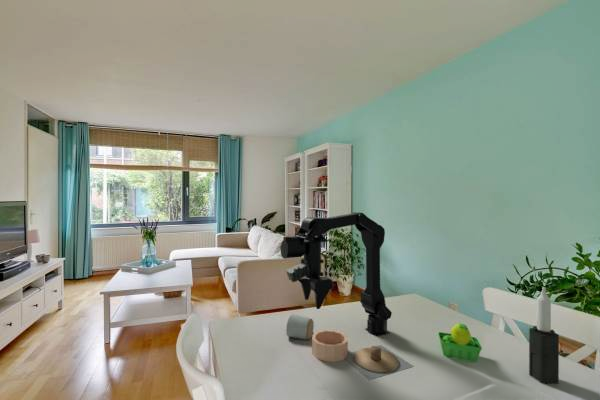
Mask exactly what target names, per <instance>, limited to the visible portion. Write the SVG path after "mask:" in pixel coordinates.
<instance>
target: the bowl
mask: <svg viewBox="0 0 600 400" xmlns="http://www.w3.org/2000/svg"><path fill="white" fill-rule="evenodd" d="M348 353H349V339H348V336H347V335H346V334H345V333H343V332H342V331H337V330H334V329H333V330H332V329H324V330H318V331H316V332H314V333H312V336H311V355H313V356H314V357H315V358H316V359H318V360H321V361H324V362H334V363H336V362H340V361H344V360H345V359H344V358H345V357H346V356H347V355H348Z"/></svg>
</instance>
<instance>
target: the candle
mask: <svg viewBox="0 0 600 400" xmlns="http://www.w3.org/2000/svg"><path fill="white" fill-rule="evenodd" d="M541 289H542V290H541V292H540V294H539V295H538V297H537V298H536V325H534V326H533V327H530V328H529V329H528V331H529V333H528V334H529V335H528V336H529V337H528V340H529V341H528V342H529V343H528V348H529V349H528V351H529V352H528V369H529V370H528V375H529V376H530V377H532V378H534V379H535V380H536V381H538V382H539V383H541V384H542V385H558V384H559V381H560V380H559V374H560V373H559V370H560V368H559V366H560V363H559V362H560V361H559V360H560V359H559V355H560V353H559V349H560V343H559V342H560V337H559V334H558V333H556V332H555V330H554V329H552V328H551V327H552V326H551V324H552V315H551V314H552V301H551V298H549V296H548V293H547V288H546V287H545V286H542V288H541Z"/></svg>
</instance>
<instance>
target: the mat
mask: <svg viewBox="0 0 600 400" xmlns="http://www.w3.org/2000/svg"><path fill="white" fill-rule="evenodd" d="M377 346H378V347H380V348H381V349H382V350H385V351H388V352H390V353H392V354H393V355H395V356H396V357H397V359H398V361H399V366H398V368H397V369H396V370H394V371H392V372H388V373H376V372H371V371H368V370H365V369H363V368H361V367H360V366H358V365H357V364H356V363H355V361H354V354H355V352H356V351H357V350H355V351H352V352H348V355H347V356H346V357H345V358H344V360H345V361H346V362H347V363H348V364H349V365H351V366H352V367H354V369H356V370H357V371H358V372H359V373H360V374H362V376H364V377H365V378H366V379H367V380H368V381H370V380H371V381H372V380H375V379H377V378H381V377H384V376H388V375H391V374H394V373H397V372H401V371H404V370H407V369H410V368H413V367H414V366H415V365H413V364H411V362H408V361H407V360H405V359H404V358H402V357H401V356H399V355H397V353H395V352H394V351H393V352H392V351H391V350H390V349H388V348H386V347H385V346H383V345H382V344H380V345H377Z"/></svg>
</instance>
